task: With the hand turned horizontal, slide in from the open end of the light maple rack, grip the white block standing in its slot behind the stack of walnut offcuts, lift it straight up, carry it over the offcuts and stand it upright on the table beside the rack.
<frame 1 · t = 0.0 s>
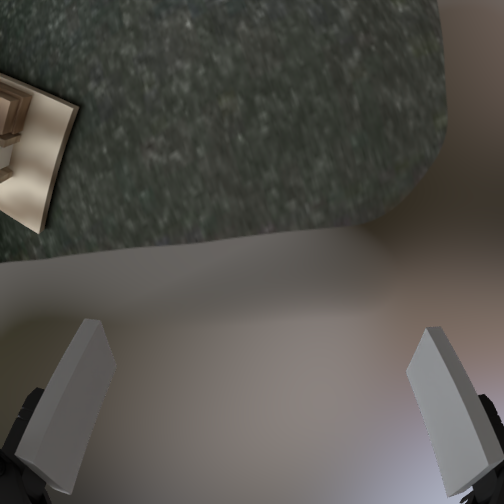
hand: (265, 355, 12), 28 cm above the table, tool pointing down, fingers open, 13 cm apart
maple rack: (0, 141, 34), on the table
walnut offcuts: (4, 102, 30), point 1 cm above the table, touching maple rack
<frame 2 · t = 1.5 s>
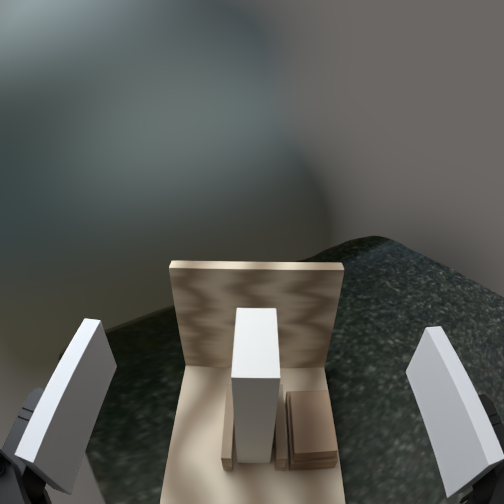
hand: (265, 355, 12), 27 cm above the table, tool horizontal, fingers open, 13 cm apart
white block: (254, 433, 33), point 1 cm above the table, touching maple rack
maple rack: (253, 439, 34), on the table
walnut offcuts: (308, 432, 33), point 1 cm above the table, touching maple rack
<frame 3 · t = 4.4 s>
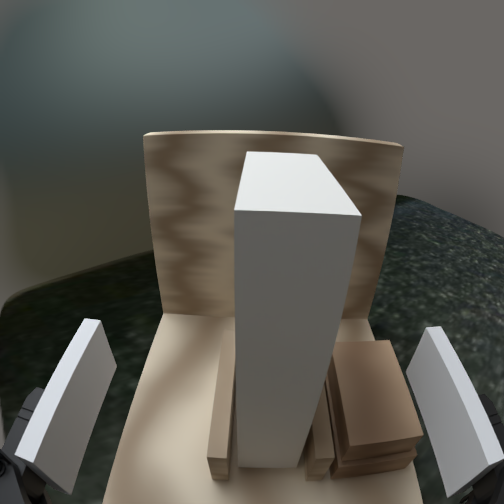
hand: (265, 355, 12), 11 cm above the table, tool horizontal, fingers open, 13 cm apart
white block: (267, 416, 20), point 1 cm above the table, touching maple rack
maple rack: (266, 427, 21), on the table
walnut offcuts: (357, 413, 20), point 1 cm above the table, touching maple rack
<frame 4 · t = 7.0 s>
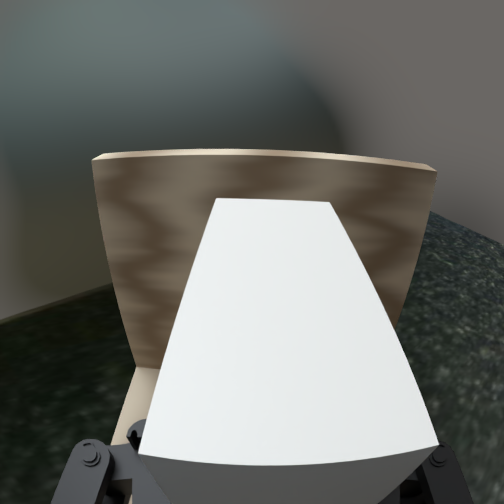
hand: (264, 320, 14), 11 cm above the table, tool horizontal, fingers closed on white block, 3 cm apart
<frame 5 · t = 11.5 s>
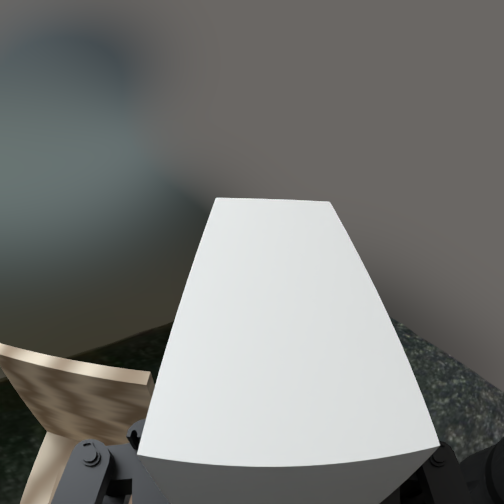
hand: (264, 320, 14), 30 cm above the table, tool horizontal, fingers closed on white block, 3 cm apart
when the fingers open (11 cm above the table, at t = 16.3 s): white block drops 1 cm, on the table.
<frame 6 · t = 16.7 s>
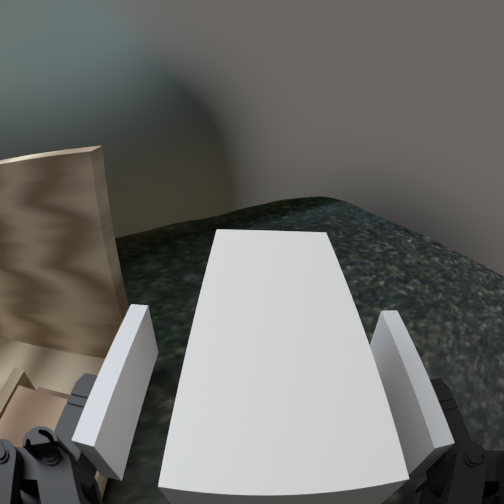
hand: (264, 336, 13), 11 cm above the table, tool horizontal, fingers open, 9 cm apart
walnut offcuts: (54, 467, 14), point 1 cm above the table, touching maple rack
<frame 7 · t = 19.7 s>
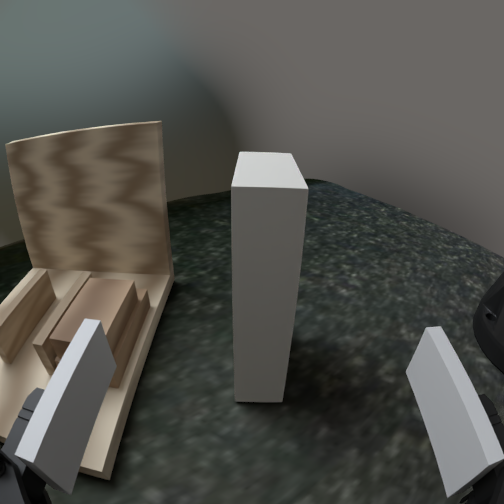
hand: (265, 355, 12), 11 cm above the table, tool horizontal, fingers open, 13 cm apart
white block: (258, 363, 26), on the table
maple rack: (57, 343, 26), on the table
walnut offcuts: (109, 339, 25), point 1 cm above the table, touching maple rack
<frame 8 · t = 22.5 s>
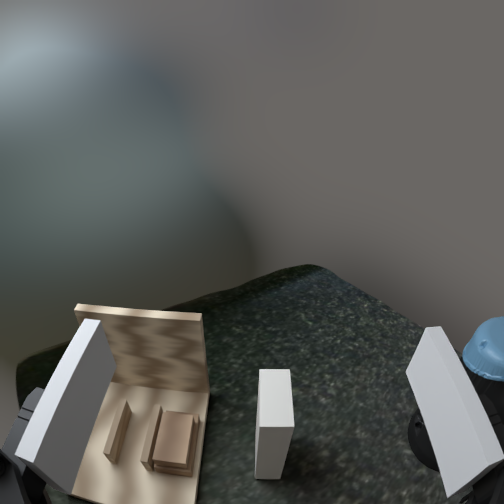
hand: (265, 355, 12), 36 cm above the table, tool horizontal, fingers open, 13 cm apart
white block: (267, 455, 40), on the table
maple rack: (140, 444, 41), on the table
walnut offcuts: (179, 445, 40), point 1 cm above the table, touching maple rack
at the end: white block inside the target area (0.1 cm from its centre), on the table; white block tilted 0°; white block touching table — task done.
